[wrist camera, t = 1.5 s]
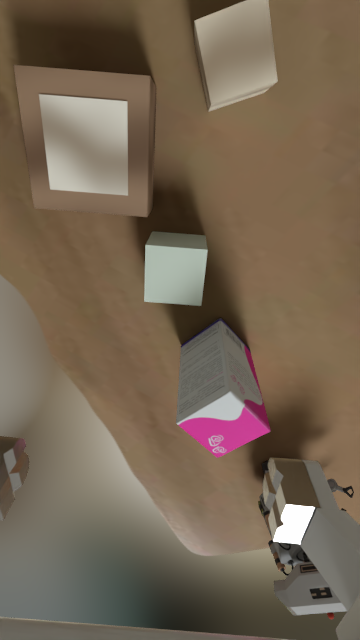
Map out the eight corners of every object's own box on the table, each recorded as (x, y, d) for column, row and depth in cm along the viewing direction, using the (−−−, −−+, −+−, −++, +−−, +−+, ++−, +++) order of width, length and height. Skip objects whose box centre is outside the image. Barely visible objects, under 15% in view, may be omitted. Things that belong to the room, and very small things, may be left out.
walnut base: (39, 77, 24) (12, 64, 20) (156, 86, 24) (149, 75, 20) (53, 201, 28) (33, 208, 25) (152, 209, 28) (147, 217, 25)
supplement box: (178, 346, 35) (173, 423, 25) (220, 316, 33) (232, 387, 23) (210, 377, 37) (217, 461, 27) (252, 351, 35) (276, 430, 25)
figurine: (335, 492, 47) (391, 627, 33) (257, 500, 48) (281, 631, 35) (335, 451, 42) (399, 586, 29) (250, 461, 44) (274, 593, 31)
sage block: (152, 230, 29) (145, 244, 25) (205, 235, 29) (207, 249, 25) (150, 280, 32) (144, 301, 27) (199, 284, 32) (201, 305, 27)
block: (194, 42, 23) (194, 20, 19) (254, 19, 22) (267, -8, 18) (208, 111, 25) (211, 104, 21) (263, 92, 24) (277, 81, 20)
